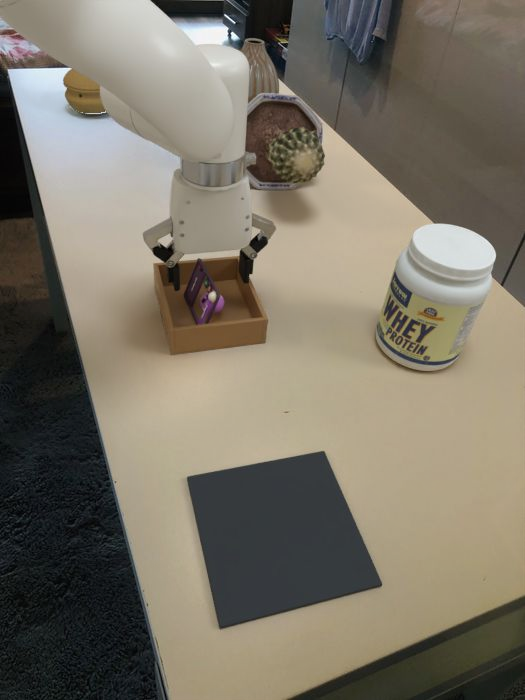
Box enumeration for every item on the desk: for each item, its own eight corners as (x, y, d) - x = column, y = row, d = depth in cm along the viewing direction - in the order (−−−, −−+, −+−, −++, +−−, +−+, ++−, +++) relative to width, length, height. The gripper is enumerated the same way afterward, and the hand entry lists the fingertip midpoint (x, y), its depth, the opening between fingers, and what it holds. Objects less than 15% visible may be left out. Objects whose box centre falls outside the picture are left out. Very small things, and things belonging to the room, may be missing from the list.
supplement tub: (356, 340, 79) (384, 239, 68) (404, 306, 86) (438, 209, 74) (428, 388, 74) (472, 287, 62) (474, 348, 80) (521, 250, 69)
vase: (213, 112, 136) (216, 33, 124) (261, 108, 141) (268, 31, 129) (234, 133, 128) (239, 51, 116) (284, 128, 133) (294, 49, 121)
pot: (65, 102, 133) (58, 57, 126) (115, 101, 136) (111, 57, 129) (68, 121, 125) (61, 74, 118) (122, 120, 128) (118, 74, 121)
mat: (219, 629, 49) (220, 627, 49) (186, 479, 60) (186, 476, 60) (381, 586, 53) (382, 584, 53) (323, 453, 64) (324, 450, 64)
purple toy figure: (193, 256, 79) (213, 294, 73) (225, 262, 81) (247, 299, 75) (178, 294, 82) (196, 333, 76) (209, 298, 85) (229, 336, 79)
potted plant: (220, 83, 109) (256, 101, 84) (306, 90, 114) (364, 108, 89) (217, 174, 118) (248, 215, 93) (297, 177, 122) (347, 216, 97)
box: (170, 355, 74) (170, 331, 71) (154, 286, 84) (153, 263, 81) (265, 342, 77) (268, 319, 74) (238, 278, 88) (240, 255, 85)
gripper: (273, 147, 70) (262, 260, 82) (133, 153, 65) (143, 271, 77) (291, 175, 65) (277, 291, 77) (141, 184, 60) (151, 305, 72)
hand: (210, 281), depth 77 cm, fingers open, 9 cm apart
